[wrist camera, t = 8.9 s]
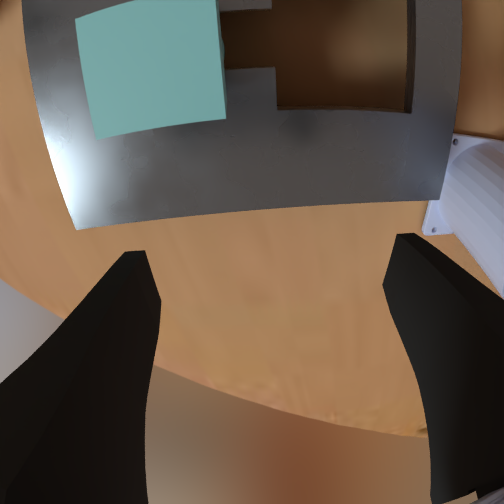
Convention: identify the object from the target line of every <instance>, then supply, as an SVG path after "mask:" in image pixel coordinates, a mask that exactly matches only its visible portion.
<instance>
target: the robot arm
mask: <svg viewBox="0 0 504 504" xmlns="http://www.w3.org/2000/svg"><path fill="white" fill-rule="evenodd" d="M454 139H455V142H454V143H453V140H454ZM433 228H434V229H433ZM432 229H433V230H432ZM422 232H423V233H424V235H427V236H428V235H440V234H452V233H454V234H455V235H456V236H457V237H458V239H459V240H460V241H461V242H462V244H463V245H464V246H465V247H466V249H467V250H468V251H469V252H470V254H471V255H472V256H473V257H474V259H475V260H476V261H477V263H478V264H479V265H480V267H481V268H482V269H483V271H484V272H485V273H486V275H487V276H488V278H489V279H490V280H491V282H492V283H493V285H494V286H495V287H496V289H497V290H498V292H499V293H500V295H501V296H502V298H503V299H502V298H501V297H499V296H498V295H497V294H495V293H494V292H493V291H491V290H490V289H489V288H487V287H486V286H485V285H483V284H482V283H481V282H480V281H478V280H477V279H476V278H474V277H473V276H472V275H471V274H469V273H468V272H467V271H465V270H464V269H463V268H462V267H460V266H459V265H458V264H457V263H455V262H454V261H453V260H451V259H450V258H449V257H448V256H446V255H445V254H444V253H442V252H441V251H440V250H438V249H437V248H436V247H434V246H433V245H432V244H430V243H429V242H427V241H426V240H424V239H423V238H421V237H420V236H418V235H417V234H415V233H404V234H397V235H396V239H395V243H394V247H393V250H392V254H391V257H390V261H389V264H388V268H387V271H386V275H385V278H384V281H383V284H382V285H383V289H384V292H385V296H386V300H387V303H388V306H389V310H390V313H391V315H392V318H393V320H394V323H395V325H396V328H397V330H398V332H399V335H400V337H401V340H402V342H403V344H404V347H405V349H406V352H407V354H408V357H409V359H410V362H411V364H412V367H413V370H414V372H415V375H416V378H417V382H418V385H419V389H420V393H421V398H422V402H423V407H424V412H425V417H426V423H427V430H428V437H429V447H430V459H431V491H430V496H431V501H432V504H443V503H446V502H449V501H452V500H455V499H458V498H460V497H463V496H466V495H468V494H470V493H472V492H474V491H476V493H477V497H478V500H476V501H474V502H472V503H471V504H504V141H502V140H496V139H490V138H484V137H478V136H471V135H464V134H456V133H453V137H452V143H451V149H450V154H449V159H448V164H447V169H446V174H445V178H444V183H443V187H442V191H441V195H440V199H439V200H429V203H428V207H427V211H426V215H425V219H424V222H423V226H422ZM160 314H161V299H160V296H159V293H158V290H157V287H156V284H155V281H154V278H153V275H152V272H151V268H150V265H149V262H148V259H147V256H146V252H145V250H142V251H128V252H124V253H123V254H122V255H121V256H120V258H119V259H118V260H117V261H116V262H115V263H114V264H113V265H112V266H111V268H110V269H109V270H108V271H107V272H106V273H105V275H104V276H103V277H102V278H101V279H100V280H99V282H98V283H97V284H96V285H95V286H94V287H93V288H92V290H91V291H90V292H89V293H88V294H87V296H86V297H85V298H84V299H83V300H82V301H81V303H80V304H79V305H78V306H77V307H76V308H75V309H74V310H73V311H72V313H71V314H70V315H69V316H68V317H67V318H66V319H65V320H64V322H63V323H62V324H61V325H60V326H59V327H58V329H57V330H56V331H55V332H54V333H53V334H52V335H51V336H50V337H49V338H48V339H47V340H46V341H45V342H44V343H43V344H42V345H41V346H40V347H39V348H38V349H37V350H36V351H35V352H34V353H33V354H32V355H31V356H30V357H29V358H28V359H27V360H26V361H25V362H24V363H23V364H22V365H20V366H19V367H18V368H17V369H16V370H15V371H14V372H13V373H11V374H10V375H9V376H8V377H7V378H6V379H5V380H4V381H3V382H1V383H0V504H148V497H147V486H146V472H145V412H146V403H147V394H148V389H149V383H150V378H151V372H152V367H153V361H154V356H155V351H156V345H157V340H158V335H159V326H160Z"/></svg>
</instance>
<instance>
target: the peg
mask: <svg viewBox="0 0 504 504" xmlns="http://www.w3.org/2000/svg"><path fill="white" fill-rule="evenodd" d="M75 23H76V32H77V40H78V47H79V54H80V61H81V67H82V73H83V79H84V85H85V90H86V95H87V100H88V105H89V110H90V115H91V119H92V124H93V128H94V133H95V137H96V140H99V139H103V138H107V137H112V136H117V135H122V134H126V133H132V132H137V131H142V130H148V129H153V128H159V127H166V126H172V125H179V124H186V123H193V122H201V121H210V120H219V119H226V110H227V94H226V83H225V72H224V56H225V47H224V42H223V39H222V37H221V26H220V14H219V2H218V0H134V1H130V2H126V3H123V4H119V5H116V6H112V7H109V8H106V9H103V10H100V11H96V12H93V13H91V14H88V15H85V16H82V17H79V18H77V19H75Z"/></svg>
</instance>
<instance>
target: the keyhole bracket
mask: <svg viewBox="0 0 504 504" xmlns="http://www.w3.org/2000/svg"><path fill="white" fill-rule="evenodd" d="M130 1H134V0H22V14H23V25H24V34H25V43H26V50H27V57H28V63H29V69H30V75H31V80H32V85H33V90H34V95H35V100H36V104H37V109H38V113H39V117H40V121H41V125H42V129H43V133H44V136H45V140H46V143H47V147H48V150H49V154H50V157H51V160H52V164H53V167H54V170H55V173H56V176H57V179H58V182H59V185H60V188H61V191H62V194H63V196H64V199H65V202H66V205H67V207H68V210H69V213H70V215H71V218H72V220H73V223H74V226H75V228H76V230H79V229H86V228H93V227H101V226H108V225H116V224H124V223H132V222H140V221H149V220H157V219H166V218H175V217H185V216H195V215H205V214H215V213H226V212H237V211H248V210H260V209H273V208H286V207H301V206H316V205H332V204H350V203H370V202H394V201H426V200H439V199H440V195H441V191H442V187H443V183H444V178H445V174H446V169H447V164H448V159H449V154H450V149H451V143H452V137H453V131H454V125H455V118H456V111H457V103H458V94H459V84H460V71H461V55H462V0H407V71H406V88H405V101H404V110H401V109H390V108H375V107H356V106H280V107H277V94H276V71H275V67H274V66H259V67H243V68H230V69H224V72H225V83H226V94H227V110H226V119H219V120H210V121H201V122H193V123H186V124H179V125H172V126H166V127H159V128H153V129H148V130H142V131H137V132H132V133H126V134H122V135H117V136H112V137H107V138H103V139H99V140H96V137H95V133H94V128H93V124H92V119H91V115H90V110H89V105H88V100H87V95H86V90H85V85H84V79H83V73H82V67H81V61H80V54H79V47H78V40H77V32H76V23H75V19H77V18H79V17H82V16H85V15H88V14H91V13H93V12H96V11H100V10H103V9H106V8H109V7H112V6H116V5H119V4H123V3H126V2H130ZM218 2H219V13H228V12H242V11H265V10H271V9H272V0H218Z"/></svg>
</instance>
